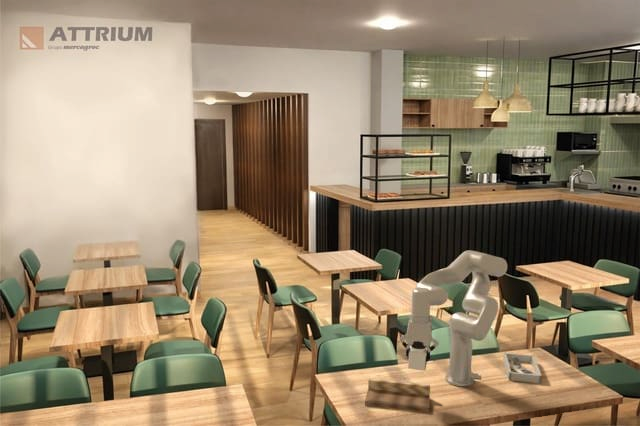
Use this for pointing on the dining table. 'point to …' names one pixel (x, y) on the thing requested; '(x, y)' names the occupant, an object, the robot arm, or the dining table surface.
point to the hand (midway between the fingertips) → (417, 358)
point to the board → (398, 395)
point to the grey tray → (522, 376)
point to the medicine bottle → (417, 356)
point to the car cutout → (519, 367)
